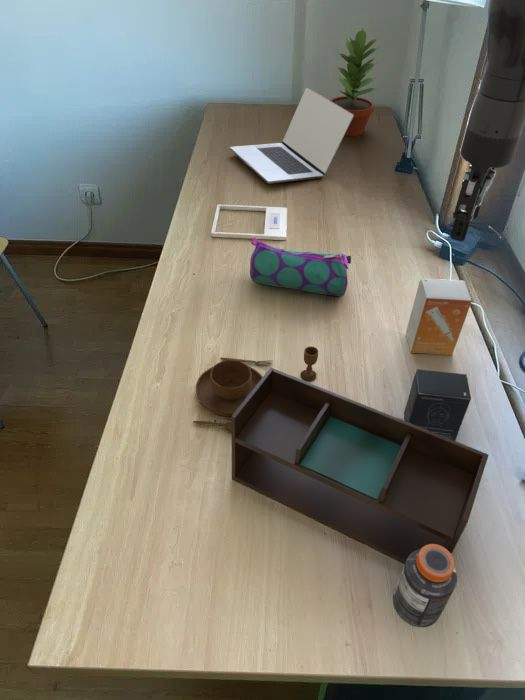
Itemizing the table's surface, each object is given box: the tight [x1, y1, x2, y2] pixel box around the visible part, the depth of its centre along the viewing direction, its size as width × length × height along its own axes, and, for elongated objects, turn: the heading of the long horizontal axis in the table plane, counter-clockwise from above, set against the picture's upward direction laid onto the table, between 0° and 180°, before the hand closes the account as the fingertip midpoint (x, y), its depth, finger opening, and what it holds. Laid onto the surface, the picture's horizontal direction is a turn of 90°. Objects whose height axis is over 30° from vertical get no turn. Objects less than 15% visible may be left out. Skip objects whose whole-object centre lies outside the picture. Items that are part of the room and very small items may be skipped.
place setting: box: [192, 346, 319, 431], centre depth 94 cm, size 18×20×6 cm
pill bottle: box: [392, 544, 458, 628], centre depth 67 cm, size 6×6×11 cm
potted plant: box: [329, 28, 379, 137], centre depth 179 cm, size 15×15×30 cm
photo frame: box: [210, 203, 288, 241], centre depth 140 cm, size 15×1×18 cm
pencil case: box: [249, 237, 352, 297], centre depth 118 cm, size 21×9×10 cm, turn 78°
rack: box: [230, 367, 489, 565], centre depth 77 cm, size 31×11×14 cm, turn 61°
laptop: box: [229, 86, 354, 185], centre depth 161 cm, size 26×24×18 cm
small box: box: [405, 277, 473, 356], centre depth 104 cm, size 8×6×13 cm
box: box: [403, 368, 472, 441], centre depth 88 cm, size 8×6×11 cm
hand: (464, 227), depth 91 cm, fingers open, 8 cm apart
